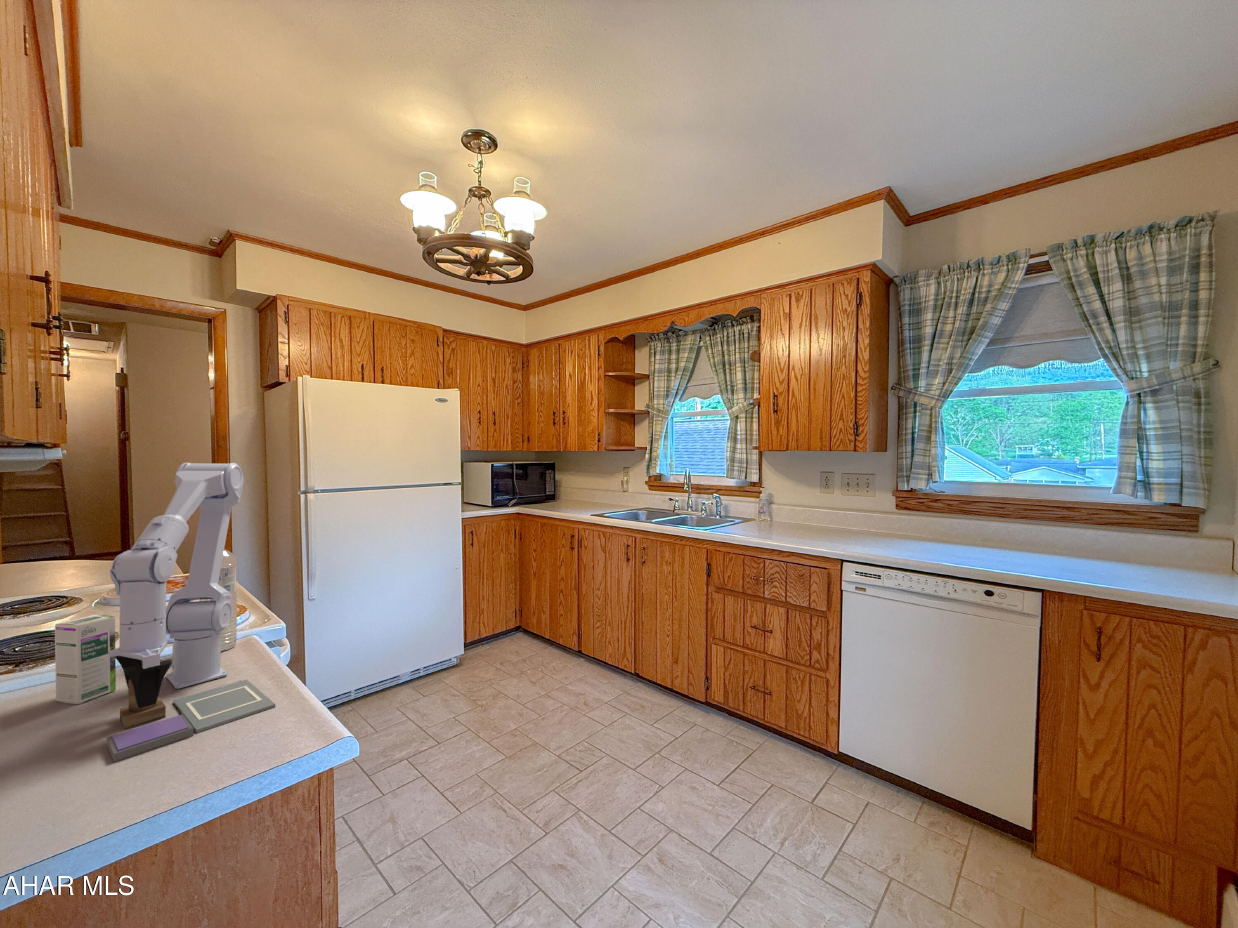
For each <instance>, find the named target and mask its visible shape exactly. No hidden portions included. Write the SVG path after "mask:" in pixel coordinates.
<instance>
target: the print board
mask: <svg viewBox="0 0 1238 928" xmlns="http://www.w3.org/2000/svg"><path fill="white" fill-rule="evenodd" d="M173 704H174V706H175V707H176V709H177V710H178V711H179V712H180V713H181V714H183V715H184V716H185V718H186V719H187V720H188V722H189V723H190V724H191V726H192V727H193V731H195V734H198V733H200V732H201V733H202V732H204V731H207V730H209V729H210V730H211V729H212V728H216V727H218V726H222V725H225V724H228V723H232V722H234V721H237V720H240V719H243V718H245V717H249V716H251V715H255V714H257V713H260V712H261V713H262V712H263V711H267V710H270V709H273V708H275V707H276V703H275V702H274V701H273V700H272V699H270V698H269V697H268V696H267V695H266V694H264V693H263V692H262V691H261V690H260V689H259V688H257V687H256V686H255V685H253V684H252V683H251V682H250V681H249V680H248V679H243V680H239V681H236V682H233V683H229V684H226V685H222V686H219V687H218V686H217V687H215V688H212V689H207V690H204V691H200V692H197V693H194V694H191V695H187V696H184V697H179V698H176V699H173Z"/></svg>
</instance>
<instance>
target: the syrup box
mask: <svg viewBox="0 0 1238 928" xmlns="http://www.w3.org/2000/svg"><path fill="white" fill-rule="evenodd" d="M54 645H55V646H54V648H55V649H54V651H55V653H54V654H55V655H54V656H55V661H54V662H55V663H54V664H55V701H56V702H59V703H65V704H73V705H81V704H83V703H84V702H87V701H91V700H92V699H96V698H98V697H101V696H104V695H106V694H110V693H113V692H115V691H116V688H117V684H116V682H117V679H116V676H117V675H116V671H117V670H116V668H117V667H116V658H115V657H110V655H109V651H110V650H114V649H116V616H114V615H109V614H91V615H89V616H84V617H79V618H77V619H76V618H75V619H71V620H68V621H63V622H59V623H55V625H54Z"/></svg>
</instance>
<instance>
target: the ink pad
mask: <svg viewBox="0 0 1238 928" xmlns="http://www.w3.org/2000/svg"><path fill="white" fill-rule="evenodd" d="M192 736H193V737H194V729H193V727H192V726H191V724H190V723H189V722H188V720H187V719H186V718H185V716H184V715H183V714H182V713H181V714H178V715H175V716H172V717H168V718H165V719H161V720H159V721H158V720H157V721H154V722H153V723H148V724H147V725H146V724H144V725H143V726H142V725H141V726H139V727H135V728H131V729H129V730H127V731H122V732H120V733H117V734H113V735H110V736H109V735H108V736H107V737H106V746H107V747H106V748H107V749H108V751H109V754H110V756H111V758H112V761H113V763H116V762H119V761H122V760H123V759H128V758H131V757H133V756H135V755H139V754H143V753H145V752H148V751H152V750H155V749H157V748H161V747H162V746H167V745H169V744H173V743H175V742H178V741H181V740H184V739H187V738H190V737H192Z"/></svg>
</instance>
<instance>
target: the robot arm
mask: <svg viewBox="0 0 1238 928" xmlns="http://www.w3.org/2000/svg"><path fill="white" fill-rule="evenodd" d="M242 471H243V470H242V468H241V466H239V465H238V464H237V463H236V462H230V463H200V462H199V463H195V462H183V463H181V464H180V465H179V466H178V468H177V470H176V472H175V476H174V484H175V487H176V490H175V492H174V494H173V496H172V498H171V499H170V501H169V503H168V505H167V507H166V509H165V511H164V513H163V515H158V516H154V517H153V518H152V519H151V520H150V521H149V522H148V524H147V526H146V527H145V528H144V530H143V531H142V533H141V534H140V536H139V537H138V538H137V540H136V542H135V543H134V544H133V546H132V547H131V549H127V550H126V551H123V552H122V553H120V554H118V555H117V556H116V557H115V558H114V559H113V561H112V564H111V569H110V570H109V577H110V579H111V581H112V582H113V584H114V589H115V590H114V593H115V594H116V596H119V644H118V646H119V647H117V648H115V649H114V650H110V651H109V655H110V657H115V660H116V661H117V662H118V663H119V664H120V666H121V668H122V672H123V675H124V679H125V682H126V686H127V688H128V681H129V680H131V682H132V685H133V689H134V694H135V699H136V703H137V705H138V707H139V708H142V707H146V706H149V705H153V704H156V701H157V699H158V698H159V696H160V695H159V694H160V690H161V687H162V684H163V681H164V678H165V677H166V678H167V680H169V682H170V683H171V685H172V686H173V687H174V688H175V689H178V690H179V689H183V688H186V687H190V686H194V685H197V684H200V683H205V682H209V681H211V680H217V679H219V678H223V677H226V676H228V672H227V671H226V670H224V668H222V666H221V662H222V661H221V659H222V658H221V653H222V652H221V631H222V630H224V629H225V628H226V627H227V626H228V624H229V623H230V620H231V617H232V606H231V602H232V595H231V594H230V592H228V591H227V590H226V589H224V588H223V587H221V586H220V585H218V581H219V575H220V569H221V564H222V558H223V553H224V549H225V546H226V540H227V535H228V531H229V530H228V529H229V524H230V519H231V513H232V512H231V511H232V508H233V506H235V505H237V504H239V503H240V502H241V498H242V497H241V496H242V492H243V486H244V475H243V472H242ZM198 507H199V508H200V515H199V521H198V527H197V532H196V536H195V541H194V546H193V552H192V556H191V561H190V565H189V566H190V567H189V571H188V577H187V582H186V585H185V586H183V587H182V588H180V589H178V590H177V591H176V592H174V593H172V594H171V595H170V596H169V599H168V603H167V581H169V579H170V578H171V577H172V576H173V574H174V571H175V570H176V569H175V568H176V562H177V559H178V553H177V552H178V550H179V548H180V546H181V544H182V543H183V542H184V540H185V538H186V537H187V535H188V533H189V531H190V526H189V524H188V523H187V522H188V520H189V519H190V518H191V516H192V515H193V514H194V513H195V511H196V510H197V509H198ZM202 599H215V600H214V601H199V600H202ZM167 635H169V639H170V640H171V639H172V640H173V639H174V641H173V643H172V657H171V658H172V659H165V660H162V661H161V654H162V652H163V651H164V650H165V649H166V647H167V646H168V640H167V637H166V636H167ZM171 667H172V671H171V672H168V671H169V669H170V668H171ZM167 672H168V673H167Z"/></svg>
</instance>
